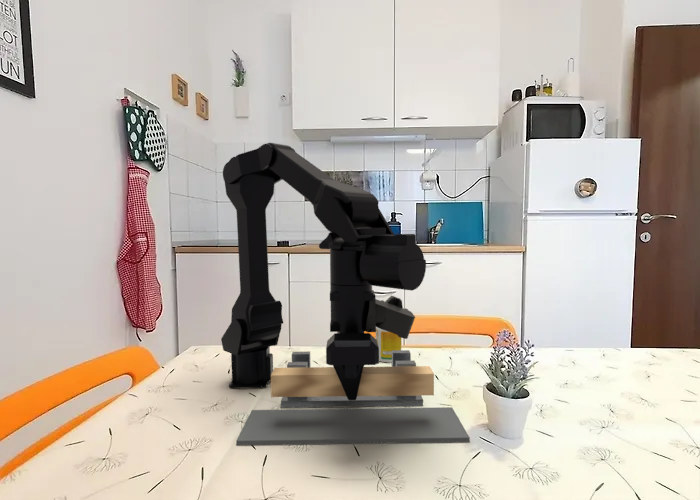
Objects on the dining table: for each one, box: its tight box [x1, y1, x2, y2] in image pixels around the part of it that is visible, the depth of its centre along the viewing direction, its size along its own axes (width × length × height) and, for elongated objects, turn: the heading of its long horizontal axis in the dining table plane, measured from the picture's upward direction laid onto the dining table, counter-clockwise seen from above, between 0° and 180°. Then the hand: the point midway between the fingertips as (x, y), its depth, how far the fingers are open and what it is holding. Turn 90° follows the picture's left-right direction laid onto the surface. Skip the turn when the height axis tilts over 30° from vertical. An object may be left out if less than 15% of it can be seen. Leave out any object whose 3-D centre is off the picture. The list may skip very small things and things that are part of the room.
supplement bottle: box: [375, 327, 402, 364], centre depth 88 cm, size 5×5×10 cm
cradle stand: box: [280, 349, 424, 409], centre depth 69 cm, size 22×8×6 cm, turn 91°
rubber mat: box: [235, 406, 471, 446], centre depth 58 cm, size 30×9×1 cm, turn 91°
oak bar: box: [270, 365, 435, 398], centre depth 58 cm, size 22×3×3 cm, turn 91°
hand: (352, 394), depth 58 cm, fingers closed on oak bar, 3 cm apart
